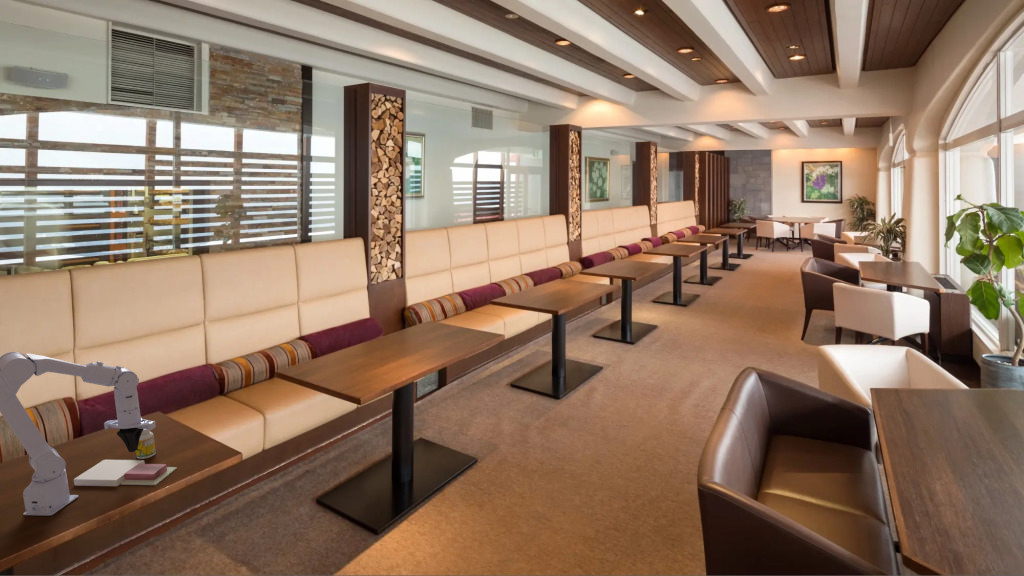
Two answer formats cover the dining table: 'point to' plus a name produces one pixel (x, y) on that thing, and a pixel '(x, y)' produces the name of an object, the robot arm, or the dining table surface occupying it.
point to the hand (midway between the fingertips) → (133, 450)
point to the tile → (145, 472)
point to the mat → (149, 482)
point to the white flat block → (106, 473)
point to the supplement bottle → (146, 445)
